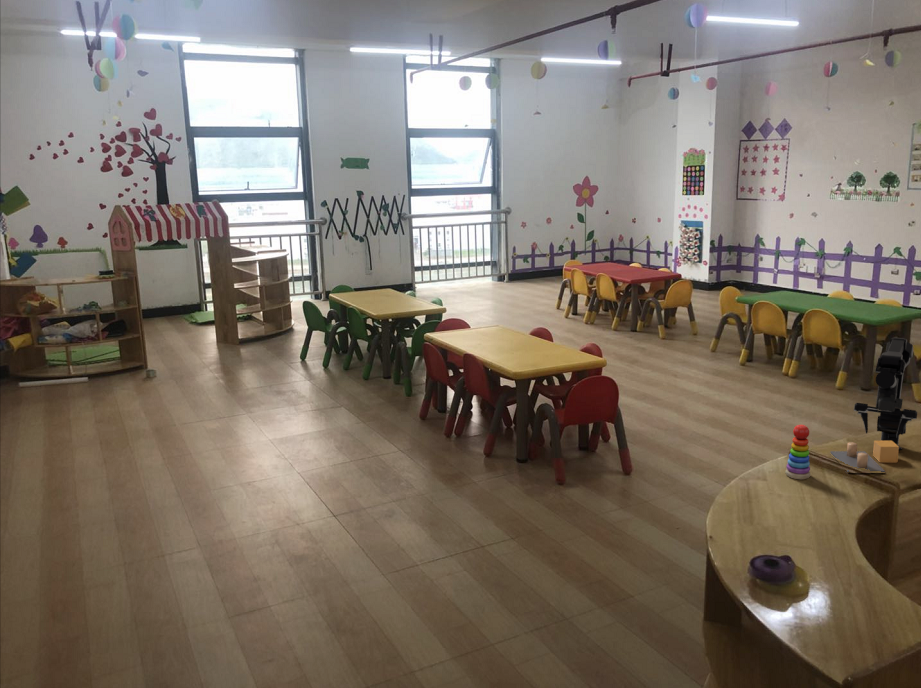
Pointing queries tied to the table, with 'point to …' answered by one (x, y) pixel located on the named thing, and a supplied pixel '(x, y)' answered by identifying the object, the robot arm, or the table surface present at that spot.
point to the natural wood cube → (886, 451)
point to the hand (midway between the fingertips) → (881, 435)
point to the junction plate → (856, 458)
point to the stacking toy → (799, 454)
